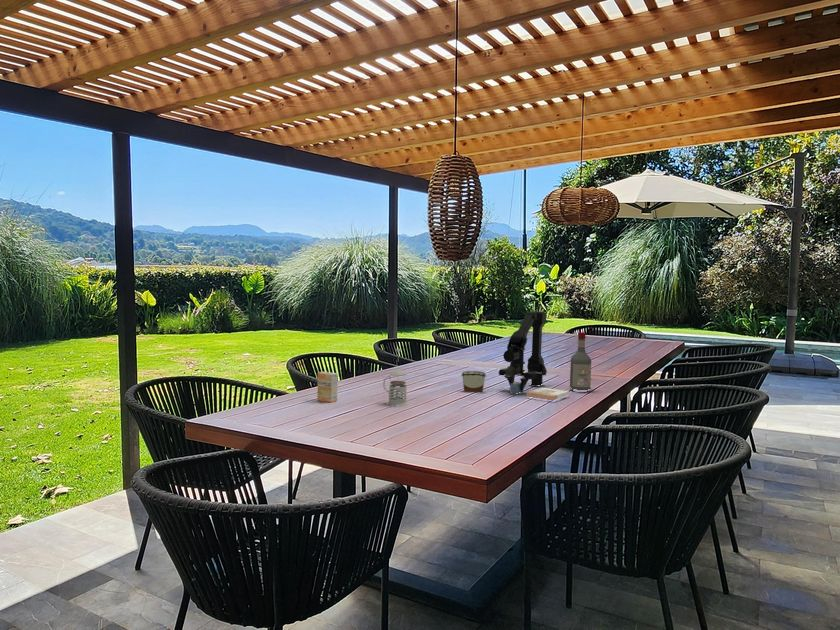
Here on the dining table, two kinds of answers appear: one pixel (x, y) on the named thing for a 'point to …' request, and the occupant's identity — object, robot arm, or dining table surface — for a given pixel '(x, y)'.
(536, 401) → the dining table surface
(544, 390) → the chassis plate
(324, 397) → the supplement box
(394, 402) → the french press
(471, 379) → the food container
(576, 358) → the liquor
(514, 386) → the block
